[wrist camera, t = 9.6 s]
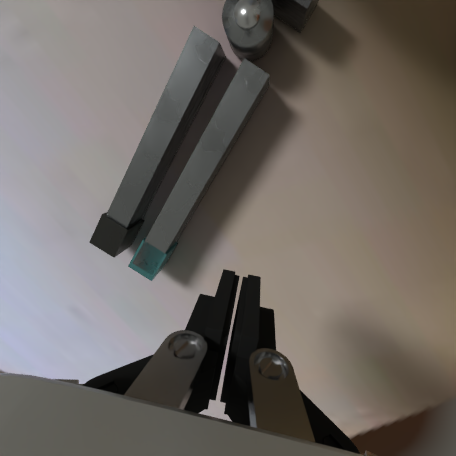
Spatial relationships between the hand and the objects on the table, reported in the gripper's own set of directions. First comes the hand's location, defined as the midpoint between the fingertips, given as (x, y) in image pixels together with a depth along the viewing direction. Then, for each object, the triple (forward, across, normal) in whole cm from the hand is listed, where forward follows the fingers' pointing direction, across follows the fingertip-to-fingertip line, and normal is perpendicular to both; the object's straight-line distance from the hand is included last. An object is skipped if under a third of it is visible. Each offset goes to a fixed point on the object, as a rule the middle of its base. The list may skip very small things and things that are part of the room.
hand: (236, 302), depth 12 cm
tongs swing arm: (+13, +5, -5) cm, 15 cm away
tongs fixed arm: (+13, +6, -6) cm, 16 cm away
